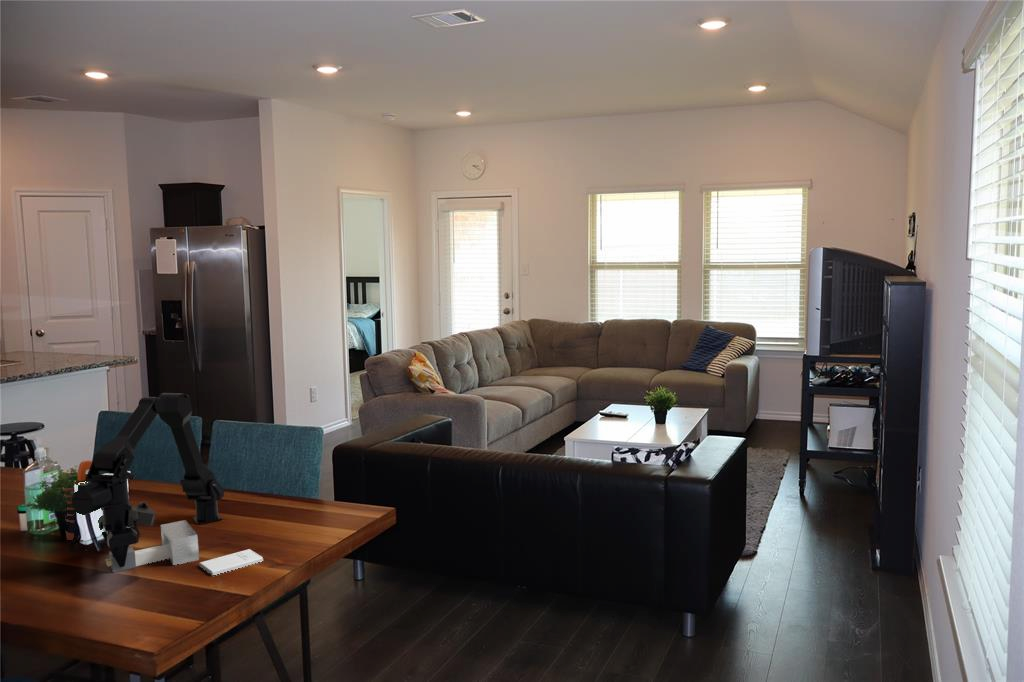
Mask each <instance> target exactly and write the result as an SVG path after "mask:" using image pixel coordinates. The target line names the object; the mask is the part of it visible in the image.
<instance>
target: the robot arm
mask: <svg viewBox="0 0 1024 682" xmlns="http://www.w3.org/2000/svg"><path fill="white" fill-rule="evenodd" d="M192 413H193V407H192V402H191V398H190V396H189V395H188V394H186V393H181V392H180V393H176V392H174V393H173V392H162V393H160V394H159V395H158V396H144V397H142V398H140V399H139V401H138V404H137V407H136V408H135V409H134V411H133V412H132V414H131V415H130V417H129V418H128V419H127V421H126V422H125V423H124V425H123V426H122V428H121V429H120V430H119V432H118V434H117V435H116V436H115V437H114V438H113V439H111V440H110V441H108V442H106V443H104V444H103V445H102V446H101V447H100V448H99V449H98V450H97V451H96V452H95V453H94V456H93V458H92V460H91V461H92V464H91V466H90V469H89V470H87V473H86V474H87V476H86V479H85V481H86V482H88V483H85V484H80V485H78V491H77V492H75V493H74V495H73V498H72V506H73V508H74V509H75V511H76V512H77V513H79V514H82V515H86V514H89V513H91V512H93V511H96V510H98V509H100V508H101V510H102V516H101V517H100V518H99V520H98V523H99V528H100V530H102V529H104V532H102V535H101V536H102V537H103V539H104V540H105V542H106V545H107V548H108V549H109V550H110V551H111V552H112V554H113V556H114V558H115V560H116V561H117V563H118V565H119V567H124V566H125V562H126V556H127V551H128V547H130V546H131V545H135V544H138V543H139V533H138V532H137V531H136V529H134V528H132V527H134V524H136V525H143V526H144V525H145V526H146V527H153V525H154V523H155V519H156V515H157V512H156V511H155V510H154V509H152V508H151V507H149V506H148V503H147V502H146V501H145V502H144V501H139V502H138V503H137V504H136V505H134V506H132V505H131V504H130V501H129V490H128V480H129V479H131V478H134V475H133V473H131V472H129V471H128V470H129V468H130V467H131V464H132V463H133V461H134V459H135V449H136V446H137V445H138V443H139V442H140V440H141V439H142V437H143V436H144V435H145V433H146V431H147V430H148V428H149V427H151V426H150V425H151V424H152V423H153V422H154V420H155V419H156V417H157V415H158V416H159V417H160V419H161V421H162V422H163V423H165V424H166V425H167V426H168V427H169V428H170V430H171V433H172V437H173V439H174V442H175V445H176V449H177V451H178V454H179V458H180V460H181V462H182V466H183V468H184V473H183V476H182V478H181V479H180V480H179V483H180V485H181V487H182V492H183V493H185V495H186V498H187V500H188V501H190V500H191V501H192V500H193V501H194V502H195V503H194V504H195V516H192V520H193V521H194V522H195V523H196V524H197V525H203V524H207V523H214V522H217V520H218V521H222V520H223V518H222V517H221V515H220V514H219V510H218V509H219V508H218V501H220V500H222V498H224V496H225V488H224V487H223V486H222V485H221V484H220V482H218V481H217V478H216V476H215V474H214V471H212V470H211V469H210V468H209V467H207V465H205V463H204V460H203V459H202V458H203V457H202V456H201V452H200V449H199V446H198V442H197V439H196V437H195V433H194V431H193V428H192V425H191V424H192V423H191V422H190V419H191V416H192ZM221 519H222V520H221Z"/></svg>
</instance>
